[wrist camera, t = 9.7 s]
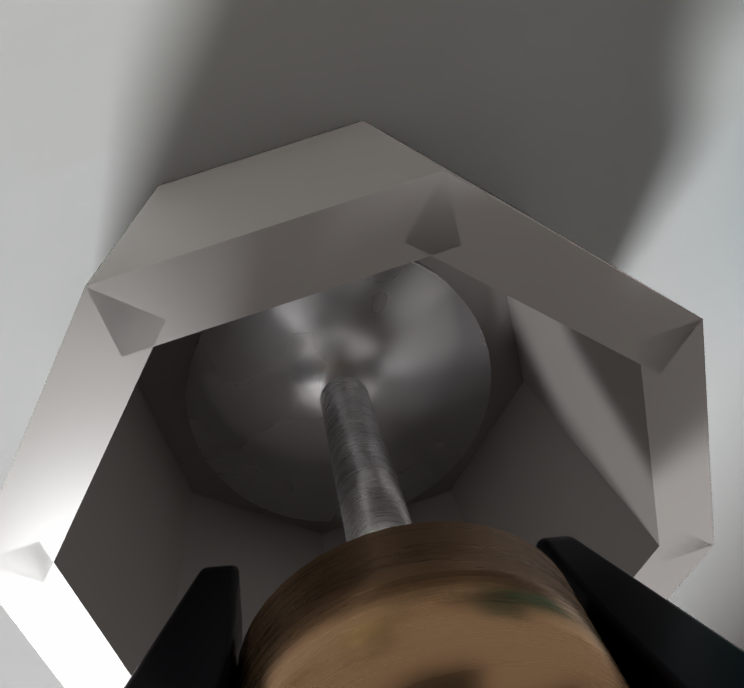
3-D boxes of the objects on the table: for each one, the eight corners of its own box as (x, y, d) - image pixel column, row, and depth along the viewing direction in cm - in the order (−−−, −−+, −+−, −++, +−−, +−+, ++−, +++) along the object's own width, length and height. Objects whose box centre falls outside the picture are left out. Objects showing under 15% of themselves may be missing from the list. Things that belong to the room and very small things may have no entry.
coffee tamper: (536, 321, 12) (902, 667, 5) (394, 537, 14) (532, 1019, 7) (271, 185, 11) (303, 442, 4) (141, 452, 12) (-12, 992, 5)
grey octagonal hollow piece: (690, 309, 14) (919, 443, 9) (469, 609, 16) (557, 836, 11) (221, 38, 10) (192, 25, 5) (33, 477, 13) (-96, 724, 8)
